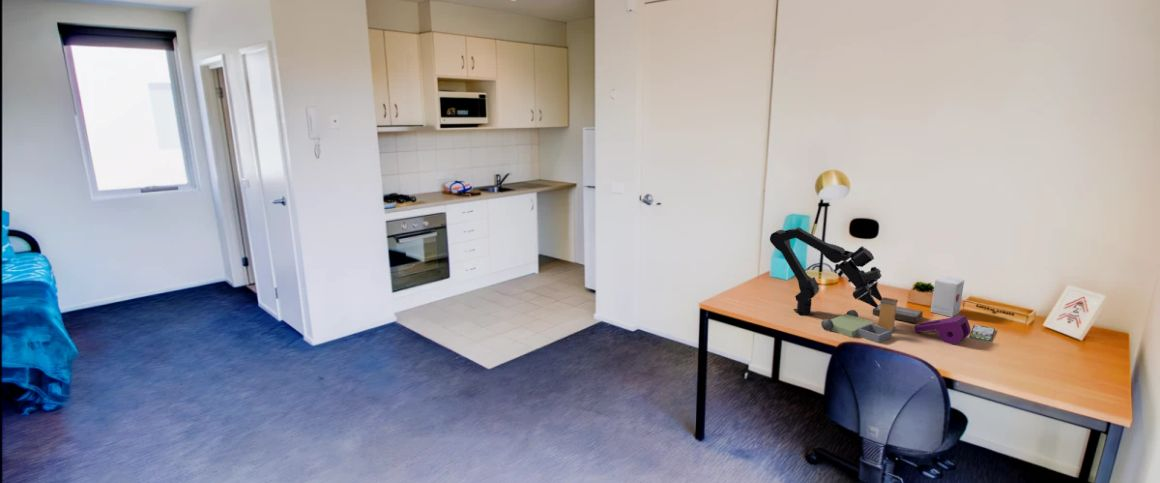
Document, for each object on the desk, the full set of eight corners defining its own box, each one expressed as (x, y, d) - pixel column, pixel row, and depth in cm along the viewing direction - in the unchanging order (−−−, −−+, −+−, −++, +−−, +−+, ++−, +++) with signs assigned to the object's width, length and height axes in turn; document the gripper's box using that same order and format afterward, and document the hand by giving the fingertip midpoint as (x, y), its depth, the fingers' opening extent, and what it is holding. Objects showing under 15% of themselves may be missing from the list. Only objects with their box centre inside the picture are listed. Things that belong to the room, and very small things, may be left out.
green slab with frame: (820, 328, 251) (821, 318, 250) (848, 318, 262) (849, 308, 261) (871, 346, 234) (872, 335, 233) (898, 334, 244) (899, 324, 243)
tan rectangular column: (876, 330, 249) (879, 301, 246) (879, 325, 253) (882, 297, 250) (892, 333, 246) (895, 303, 243) (894, 328, 250) (898, 299, 247)
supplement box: (952, 317, 261) (957, 284, 258) (929, 312, 268) (934, 279, 264) (960, 312, 267) (965, 279, 263) (937, 307, 274) (942, 275, 270)
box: (915, 324, 254) (916, 317, 253) (871, 315, 265) (872, 308, 265) (922, 318, 262) (923, 311, 261) (879, 309, 273) (880, 302, 272)
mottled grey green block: (968, 336, 241) (973, 324, 252) (968, 339, 241) (973, 326, 252) (990, 341, 236) (995, 328, 247) (990, 344, 236) (994, 330, 248)
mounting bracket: (916, 348, 246) (964, 343, 231) (909, 328, 246) (956, 321, 232) (926, 342, 251) (973, 336, 237) (919, 322, 252) (966, 315, 238)
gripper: (864, 267, 241) (891, 299, 237) (874, 257, 255) (900, 286, 251) (841, 283, 247) (867, 314, 243) (852, 272, 262) (878, 301, 258)
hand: (879, 303), depth 249 cm, fingers open, 9 cm apart
